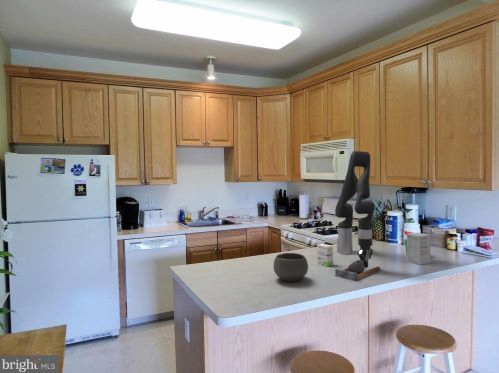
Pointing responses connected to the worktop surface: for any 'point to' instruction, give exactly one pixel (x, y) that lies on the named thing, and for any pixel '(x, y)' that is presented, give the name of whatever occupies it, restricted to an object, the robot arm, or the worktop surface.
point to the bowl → (290, 266)
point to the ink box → (325, 254)
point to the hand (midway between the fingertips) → (365, 267)
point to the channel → (354, 276)
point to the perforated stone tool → (356, 267)
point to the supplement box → (418, 248)
